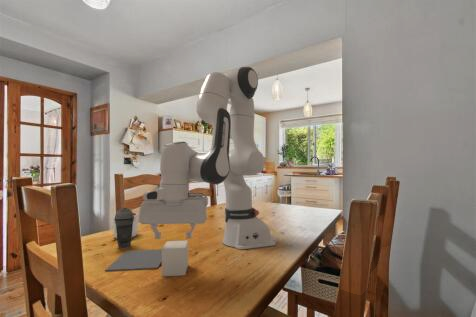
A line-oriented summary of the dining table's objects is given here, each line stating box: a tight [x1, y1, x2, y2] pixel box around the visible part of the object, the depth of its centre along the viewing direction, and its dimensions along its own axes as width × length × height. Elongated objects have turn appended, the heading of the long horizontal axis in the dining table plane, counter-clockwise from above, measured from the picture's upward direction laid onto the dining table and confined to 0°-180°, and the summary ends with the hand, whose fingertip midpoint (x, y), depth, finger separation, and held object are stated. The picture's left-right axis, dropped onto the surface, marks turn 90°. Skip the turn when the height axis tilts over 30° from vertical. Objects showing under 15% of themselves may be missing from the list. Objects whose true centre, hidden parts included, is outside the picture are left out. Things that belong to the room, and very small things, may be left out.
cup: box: [113, 212, 139, 240], centre depth 106 cm, size 10×10×10 cm
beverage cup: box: [113, 197, 134, 250], centre depth 93 cm, size 7×7×20 cm
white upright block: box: [161, 240, 189, 277], centre depth 71 cm, size 7×7×8 cm
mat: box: [104, 248, 162, 272], centre depth 79 cm, size 16×16×1 cm
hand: (173, 238), depth 70 cm, fingers open, 8 cm apart
